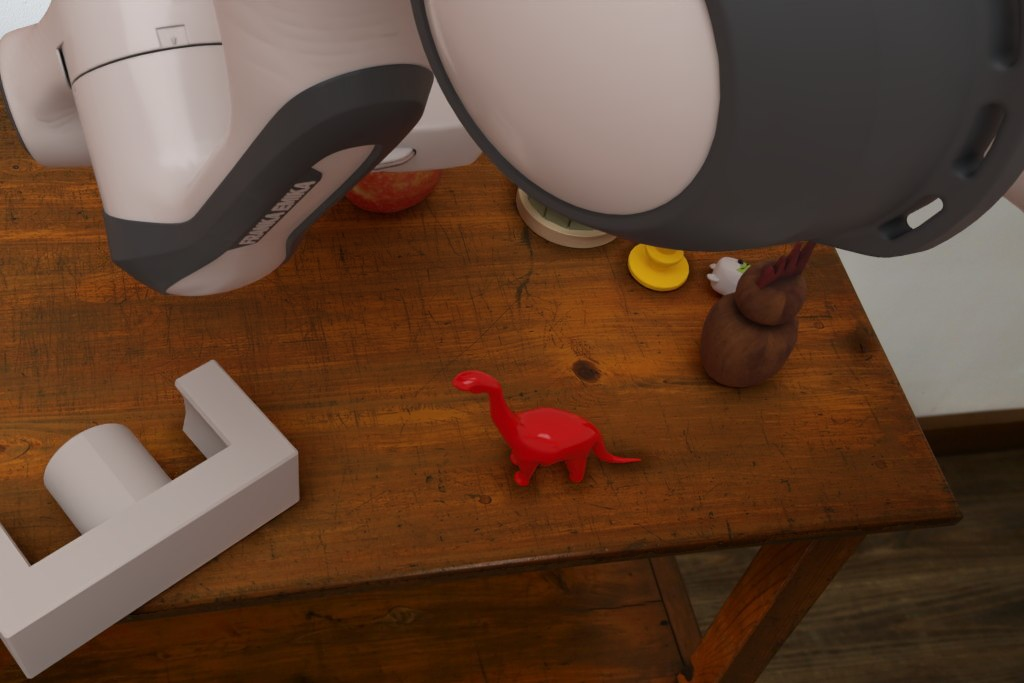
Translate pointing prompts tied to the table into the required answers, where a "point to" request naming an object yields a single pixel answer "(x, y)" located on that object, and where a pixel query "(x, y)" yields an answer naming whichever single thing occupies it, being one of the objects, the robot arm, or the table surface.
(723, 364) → the wooden figurine
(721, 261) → the toy
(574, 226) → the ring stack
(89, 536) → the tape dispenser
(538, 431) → the dinosaur
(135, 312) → the table surface
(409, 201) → the apple
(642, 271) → the candle
